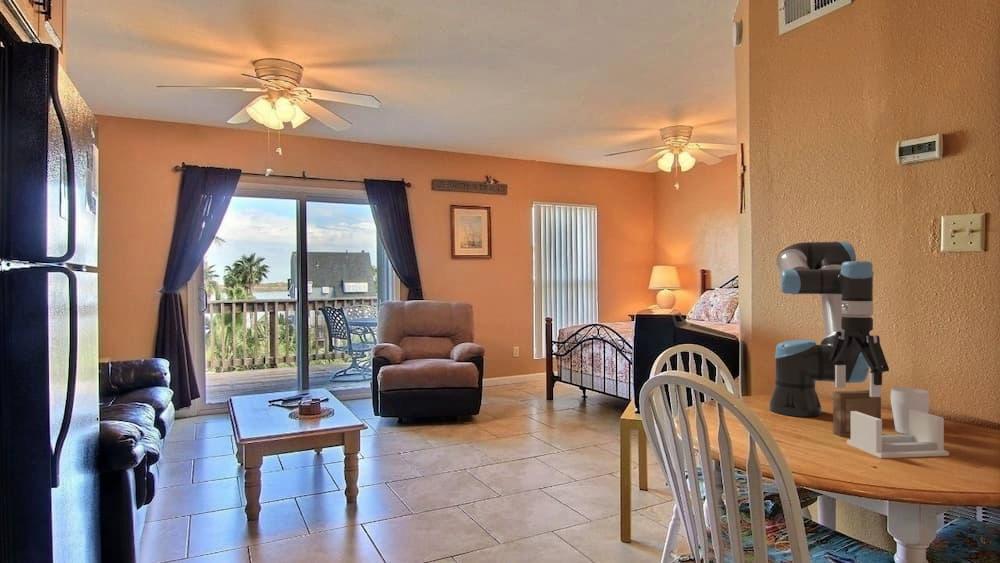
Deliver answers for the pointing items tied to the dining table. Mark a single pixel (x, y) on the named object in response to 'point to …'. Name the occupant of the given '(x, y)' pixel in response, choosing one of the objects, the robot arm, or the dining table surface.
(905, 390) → the cup
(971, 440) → the dining table surface
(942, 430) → the track frame
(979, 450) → the dining table surface
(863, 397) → the door panel
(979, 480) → the dining table surface
